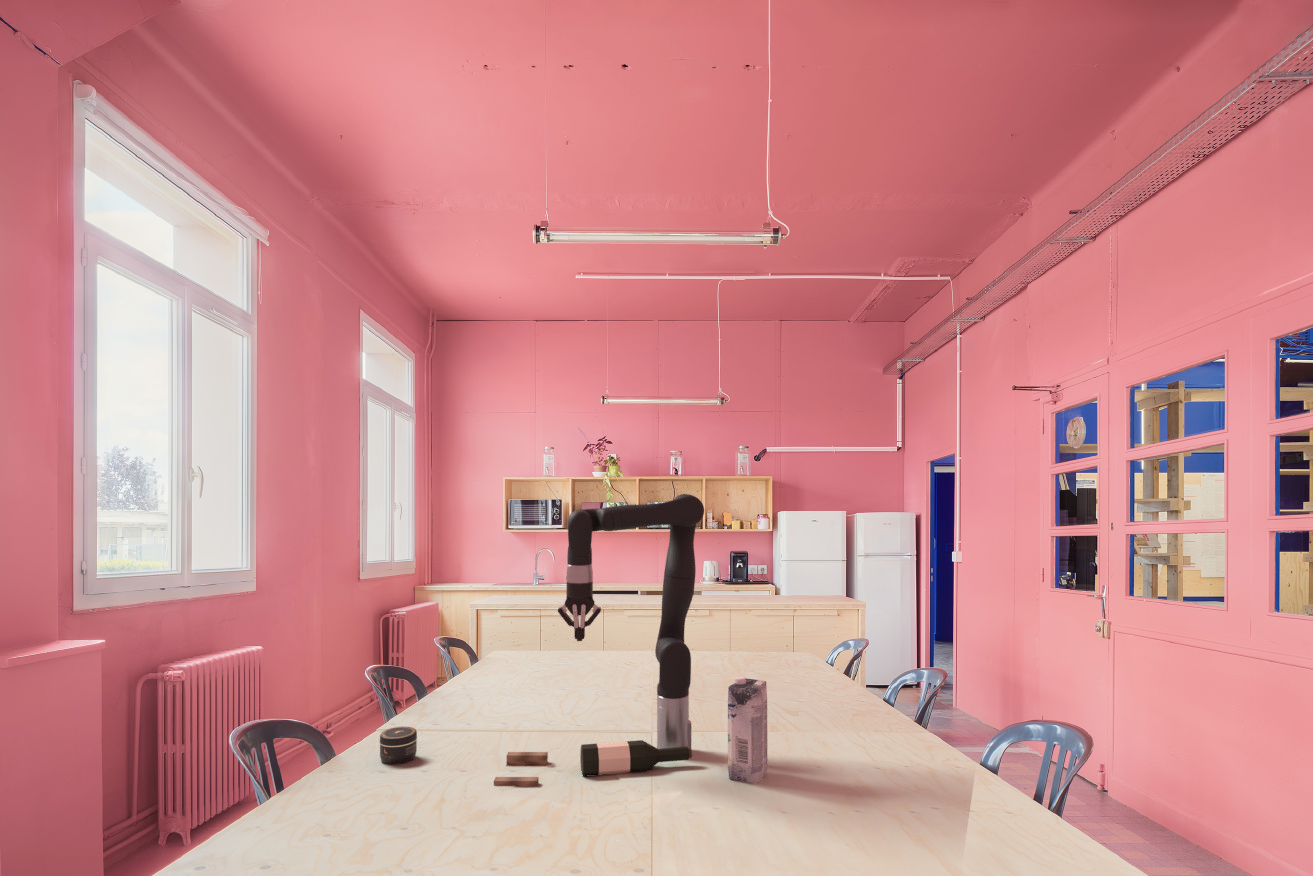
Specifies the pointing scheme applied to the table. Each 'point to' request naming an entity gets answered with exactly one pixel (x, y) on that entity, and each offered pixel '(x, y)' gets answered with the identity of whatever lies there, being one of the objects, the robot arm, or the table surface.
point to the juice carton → (747, 730)
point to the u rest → (523, 760)
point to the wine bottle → (626, 757)
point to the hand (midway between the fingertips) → (579, 640)
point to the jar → (398, 745)
